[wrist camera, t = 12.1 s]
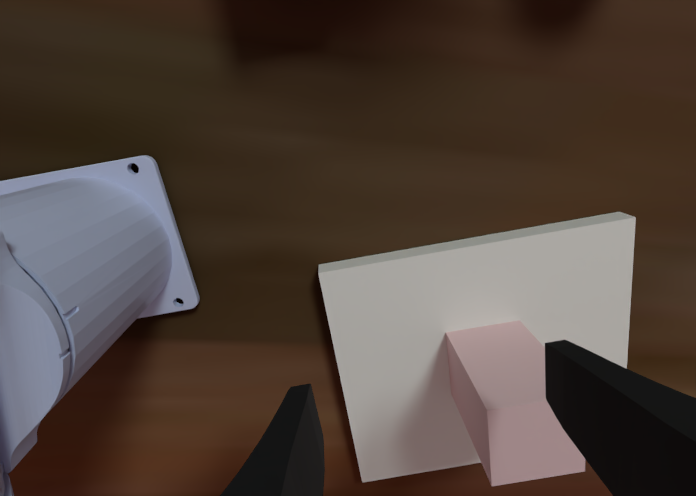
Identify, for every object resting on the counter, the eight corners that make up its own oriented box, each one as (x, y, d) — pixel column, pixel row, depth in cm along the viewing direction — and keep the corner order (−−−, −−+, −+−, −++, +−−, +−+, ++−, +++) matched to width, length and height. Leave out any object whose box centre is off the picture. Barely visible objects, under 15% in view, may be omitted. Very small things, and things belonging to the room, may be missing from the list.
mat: (360, 466, 26) (362, 482, 25) (318, 264, 21) (318, 273, 20) (609, 424, 26) (622, 438, 25) (619, 211, 21) (635, 217, 20)
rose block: (451, 393, 23) (491, 486, 17) (445, 332, 22) (486, 410, 16) (521, 382, 23) (585, 471, 17) (519, 320, 22) (587, 394, 16)
